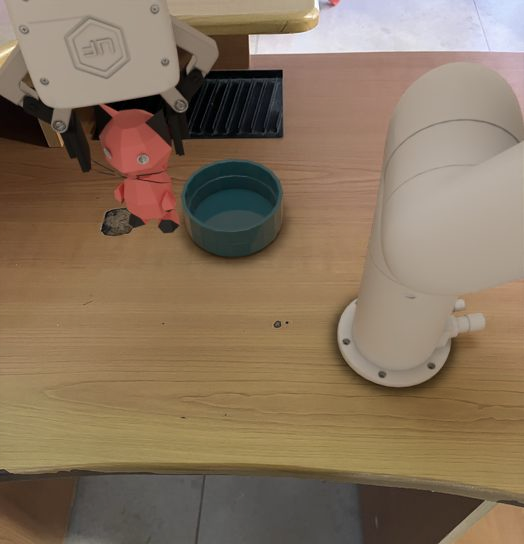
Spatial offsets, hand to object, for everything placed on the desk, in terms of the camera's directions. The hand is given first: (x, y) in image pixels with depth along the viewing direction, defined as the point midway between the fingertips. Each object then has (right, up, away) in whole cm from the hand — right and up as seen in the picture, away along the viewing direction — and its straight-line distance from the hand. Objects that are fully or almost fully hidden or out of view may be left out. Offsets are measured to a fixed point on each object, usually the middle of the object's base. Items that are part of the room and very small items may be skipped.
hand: (132, 151), depth 48 cm
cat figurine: (+1, -4, +7) cm, 8 cm away
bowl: (+7, 0, +27) cm, 28 cm away
